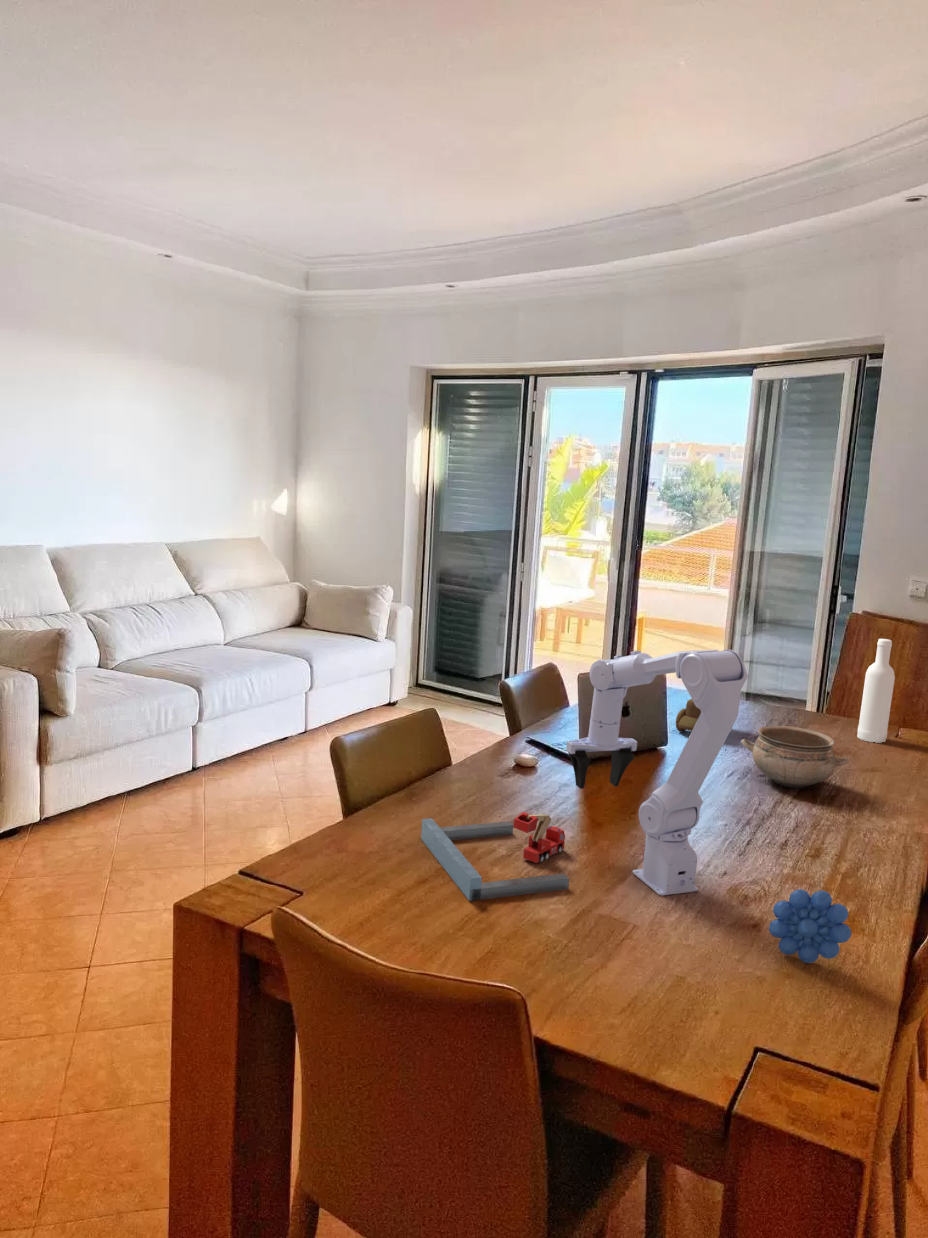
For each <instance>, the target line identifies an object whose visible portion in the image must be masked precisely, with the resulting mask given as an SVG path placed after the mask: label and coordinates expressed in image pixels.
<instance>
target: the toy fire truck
mask: <svg viewBox="0 0 928 1238" xmlns="http://www.w3.org/2000/svg"><path fill="white" fill-rule="evenodd" d="M551 822H552V818H551V816H550V815H549V814H545V813H542V814H529V813H527V812H523V811H522V813H520V814H519V815H518V816H516V817H515V818H514V819H513V829H516V830H518V831H521V832H523V833H527V834H529V833H531V832H534V833H533V835H532V834H531V835H529V836H528V843H527V844H528V846H527V847H525V848H523V855H522V856H523V857H522V858H523V859H525V860H527V861H529V862H533V863H535V864H537V863H543V862H544V860H549V858H550V857H551V856H553V855H555V854H561V853H562V852H563V850H564V849H565V843H566V834H565V831H564V829H562V828H561V827H558V826H551V825H550V824H551ZM549 825H550V826H549ZM544 835H545V838H544Z"/></svg>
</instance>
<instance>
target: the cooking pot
mask: <svg viewBox="0 0 928 1238" xmlns="http://www.w3.org/2000/svg"><path fill="white" fill-rule="evenodd" d="M757 731H758V734H759V736H758V737H757V739H756V740H755V742H751V740H748V739H746V738H743V739H741V741H740V743H741V745H742V746H743V747H745V748H746V749H747V750H748V751H750V752H751V755H752V759H753V761H754V764H755V766H756V768H757V769H758V770H759V772H761V773H763V775H766V776H767V777H768V779H771V780H772V782H774V783H775V784H777V785H779V786H781V787H784V788H788V789H803V788H805V787H808V786H812V785H814V784H818V783H820V782H823V781H824V780H826V779H828V777H829V776H830V775H831V774H832V772H833V771H834V769H835V767H841V766H844V765H847V764H848V763H849V762H850V760H849V758H847V757H846V758H844V757H843V758H838V757H835V754H834V753H835V752H834V750H833V747H832V746H833V745H834V744H835V740H834V739H833V738H832V737H831V736H829V735H827V734H825V733H822V732H820V731H817V730H813V729H809V728H803V727H797V726H790V725H765V726H762V727H760V728H758V730H757Z"/></svg>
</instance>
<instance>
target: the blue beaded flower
mask: <svg viewBox="0 0 928 1238" xmlns="http://www.w3.org/2000/svg"><path fill="white" fill-rule="evenodd" d="M832 902H833V898H832V896H831V894H830V892H829V891H826V890H822V889H820V890H818V891H815V892H813V893H812V894H811V895H810V893H809V892H808V891H807V890H805V889H802V888H800V889H796V890H795V889H794V890H793V891H792V892H791V893H790V894H789V899H788V900H785V899H783V900H780V901H777V902H776V903H775V904H773V905H774V906H773V910H772V913H773V915H774V916H775V918H776V919H772V921H771V922H770V923H769V926H768V931H769V933H770V935H771V936H772V937H774V938H777V939H779V942H778V949H779V951H780V952H781V953H782V954H784V955H786V956H791V955H796V953H797V956H798V959H799V960H800V961H801V962H803V963H804V964H811V963H815V962H816V961H817V960H819V959H818V958H819V956H820V957H822V958H824V959H827V960H828V959H829V960H830V959H834V958H836V957H837V956H838V955H839V953H840V951H841V950H840V948H841V947H840V945H839V944H843V943H847V942H848V941H849V940H850V939H851V937H852V930H851V928H850V926H849V925H847V924H846V923H845V922H846V921H847V920H848V918H849V911H848V908H847V907H846V906H845V905H843V904H841V903H834V904H832Z"/></svg>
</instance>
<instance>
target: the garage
mask: <svg viewBox="0 0 928 1238" xmlns="http://www.w3.org/2000/svg"><path fill="white" fill-rule="evenodd" d="M513 825H514V823H513V822H511V821H510V820H508V821H498V822H497V821H496V822H487V823H485V822H484V823H474V824H462V825H452V826H442V827H441V826H439V825H438V823H437V822H435V820H434V819H433V818H432V817H431V818H422V819H421V835H420V839H421V841H422V843H424V845H425V846H426V847H427V849H429V851H430V852H431V854H432V856H434V858H435V859H436V860H437V861H438V863H439V864H440V865H441V867H442V868H443V869H444V871H445V872H446V873H447V875H449V877H450V878H451V880H452V881H453V882H454V884H455V885H456V886H457V887H458V888H459V890H460V891H461V892H462V894H463V895H464V896H465V897H466V899H467V900H468V901H469V902H474V901H480V900H481V901H483V900H491V899H499V898H506V897H513V896H515V897H516V896H523V895H530V894H537V893H538V894H539V893H547V892H557V891H565V890H569V885H570V884H569V883H570V877H569V876H568V875H566V874H565V873H555V874H554V873H553V874H546V875H537V876H530V877H529V876H528V877H520V878H512V879H510V878H509V879H502V880H493V881H485V882H482V880H483V879H482V878H483V877H482V876H481V874H479V872H478V871H477V870H476V869H475V867H474V866H473V865H472V864H471V862H469V860H468V859H467V858H466V857H465V856H464V854H462V852H461V851H460V849H458V847H457V846H456V845H455V844H454V842H453V841H461V840H469V839H470V840H471V839H479V838H480V839H481V838H491V837H502V836H512V835H513V834H514V828H513Z"/></svg>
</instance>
